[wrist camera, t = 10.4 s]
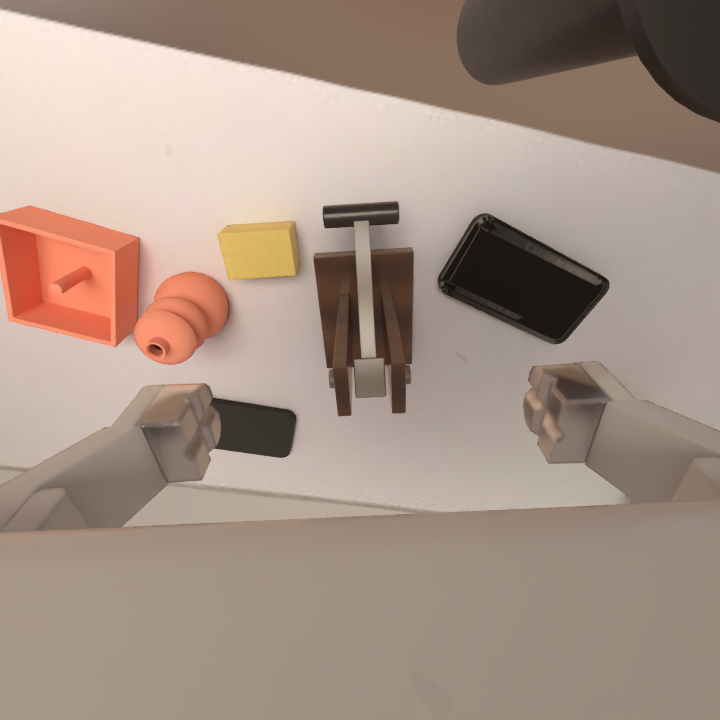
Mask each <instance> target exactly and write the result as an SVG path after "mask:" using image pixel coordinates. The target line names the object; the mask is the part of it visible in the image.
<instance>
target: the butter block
mask: <svg viewBox="0 0 720 720" xmlns="http://www.w3.org/2000/svg"><path fill="white" fill-rule="evenodd" d="M218 238H219V242H220V247H221V251H222V255H223V259H224V263H225V267H226V271H227V275H228V279H229V280H230V279H247V278H263V277H280V276H296V274H297V271H298V269H299V266H300V261H299V254H298V247H297V240H296V233H295V226H294V221H287V222H271V223H255V224H240V225H227V226H226V227H225V228H224V229H222V230H221V231H220V232H219V233H218Z"/></svg>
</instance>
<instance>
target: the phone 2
mask: <svg viewBox="0 0 720 720" xmlns="http://www.w3.org/2000/svg"><path fill="white" fill-rule="evenodd" d="M438 283H439V286H440V288H441V290H442V291H443V293H445V294H447V295H449V296H451V297H453V298H455V299H457V300H459V301H462V302H464V303H466V304H468V305H470V306H472V307H474V308H476V309H478V310H481V311H483V312H485V313H487V314H489V315H491V316H493V317H496V318H498V319H500V320H502V321H504V322H506V323H508V324H511V325H513V326H515V327H517V328H519V329H521V330H523V331H525V332H528V333H530V334H532V335H534V336H536V337H538V338H540V339H542V340H545V341H547V342H549V343H551V344H560V343H562V342H564V341H565V340H566V339H567V338H568V337H569V336H570V335H571V334H572V332H573V331H574V330H575V329H576V328H577V327H578V325H579V324H580V323H581V322H582V321H583V320H584V319H585V317H586V316H587V315H588V314H589V313H590V312H591V310H592V309H593V308H594V307H595V306H596V305H597V303H598V302H599V301H600V300H601V299H602V298H603V296H604V295H605V294H606V293H607V291H608V289H609V281H608V280H607V279H606V278H605V277H603V276H602V275H600V274H599V273H597V272H595V271H593V270H591V269H590V268H588V267H586V266H584V265H582V264H580V263H578V262H577V261H575V260H573V259H571V258H569V257H567V256H566V255H564V254H562V253H560V252H558V251H556V250H554V249H553V248H551V247H549V246H547V245H545V244H543V243H542V242H540V241H538V240H536V239H534V238H532V237H530V236H529V235H527V234H525V233H523V232H521V231H519V230H518V229H516V228H514V227H512V226H510V225H508V224H506V223H505V222H503V221H501V220H499V219H497V218H495V217H494V216H492V215H489V214H481V215H478V216H477V217H475V218H474V220H473V221H472V222H471V224H470V226H469V227H468V229H467V231H466V232H465V234H464V236H463V237H462V239H461V240H460V242H459V244H458V245H457V247H456V249H455V250H454V252H453V254H452V255H451V257H450V259H449V260H448V262H447V264H446V265H445V267H444V269H443V270H442V272H441V274H440V276H439V278H438Z"/></svg>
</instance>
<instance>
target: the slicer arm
mask: <svg viewBox="0 0 720 720" xmlns="http://www.w3.org/2000/svg"><path fill="white" fill-rule="evenodd" d="M323 222H324V227H325V228H340V227H354V235H355V253H356V271H357V289H358V308H359V326H360V344H361V358H356V359H354V377H355V395H356V398H368V397H385V396H386V384H385V366H384V358H383V357H376V344H375V326H374V307H373V288H372V270H371V251H370V233H369V226H371V225H387V224H398V223H399V204H398V202H397V201H394V202H378V203H363V204H347V205H332V206H323Z"/></svg>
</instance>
